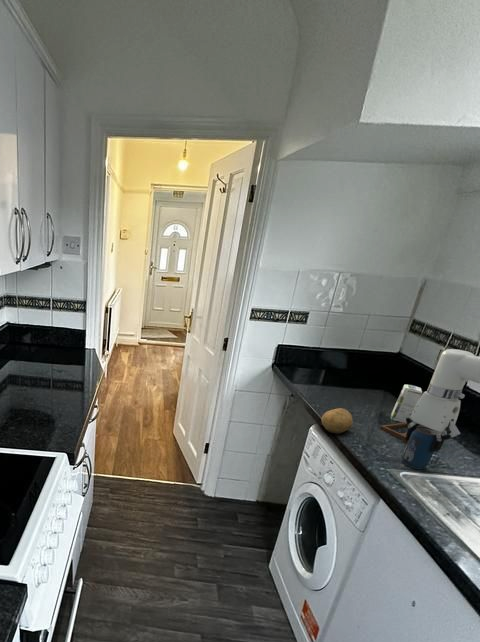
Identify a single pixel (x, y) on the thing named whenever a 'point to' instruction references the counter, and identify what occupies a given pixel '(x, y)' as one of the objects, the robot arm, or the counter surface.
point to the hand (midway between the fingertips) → (421, 445)
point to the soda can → (419, 448)
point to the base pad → (388, 429)
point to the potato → (337, 420)
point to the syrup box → (406, 402)
